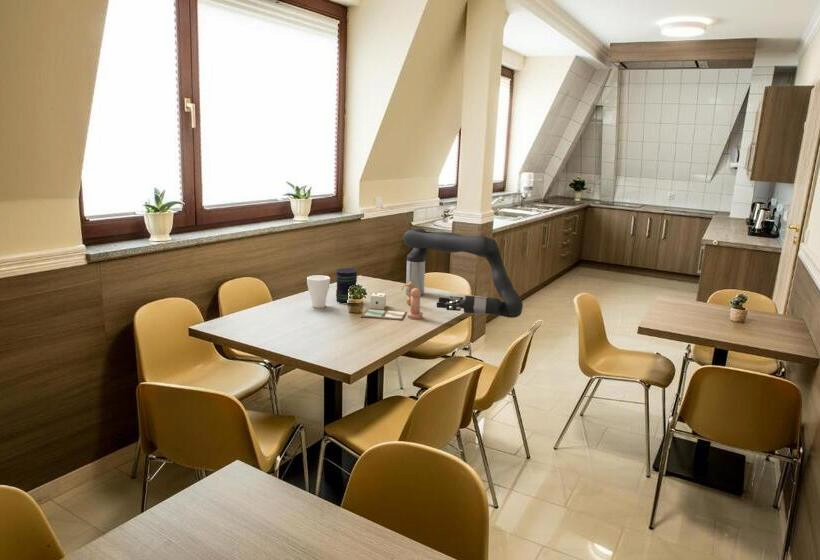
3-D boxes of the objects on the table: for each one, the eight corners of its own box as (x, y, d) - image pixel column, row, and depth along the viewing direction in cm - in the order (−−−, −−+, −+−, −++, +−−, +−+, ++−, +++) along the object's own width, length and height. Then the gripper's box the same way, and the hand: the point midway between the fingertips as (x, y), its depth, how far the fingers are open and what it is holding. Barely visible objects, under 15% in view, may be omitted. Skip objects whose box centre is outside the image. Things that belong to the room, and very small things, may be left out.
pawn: (408, 314, 264) (409, 286, 261) (423, 315, 263) (424, 286, 260) (406, 318, 257) (407, 289, 254) (421, 319, 256) (422, 290, 254)
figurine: (419, 304, 281) (420, 279, 279) (418, 307, 276) (418, 282, 273) (402, 303, 283) (403, 278, 280) (400, 306, 277) (401, 281, 274)
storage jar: (340, 297, 289) (340, 267, 286) (359, 299, 287) (359, 269, 284) (332, 302, 280) (332, 271, 277) (352, 304, 278) (352, 273, 274)
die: (373, 305, 278) (373, 292, 276) (385, 306, 277) (386, 293, 275) (370, 308, 272) (370, 295, 270) (383, 309, 271) (383, 296, 270)
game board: (366, 310, 269) (366, 308, 269) (406, 312, 266) (406, 311, 266) (360, 317, 258) (360, 315, 257) (402, 320, 255) (402, 318, 255)
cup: (322, 310, 267) (322, 281, 264) (302, 307, 270) (302, 278, 267) (334, 304, 276) (334, 276, 273) (314, 302, 280) (314, 274, 277)
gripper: (476, 292, 261) (439, 290, 263) (475, 300, 247) (436, 298, 249) (475, 308, 262) (439, 306, 265) (474, 317, 249) (435, 315, 251)
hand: (437, 302), depth 257 cm, fingers open, 8 cm apart
